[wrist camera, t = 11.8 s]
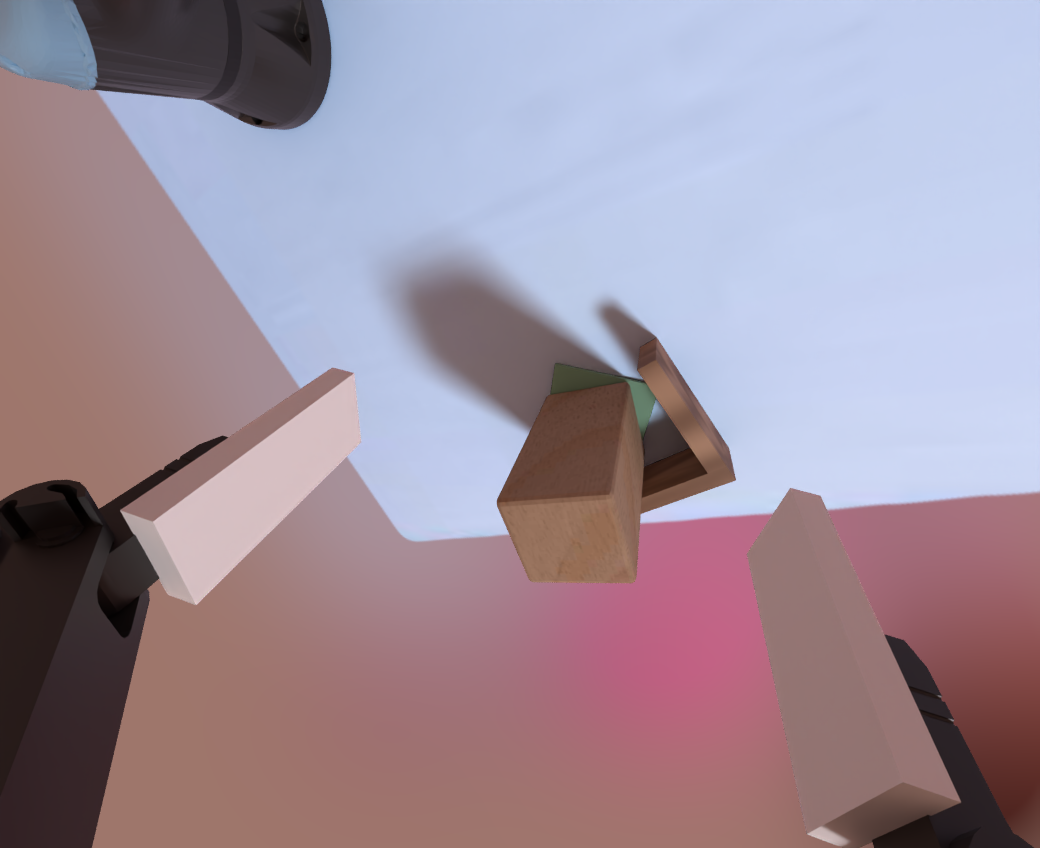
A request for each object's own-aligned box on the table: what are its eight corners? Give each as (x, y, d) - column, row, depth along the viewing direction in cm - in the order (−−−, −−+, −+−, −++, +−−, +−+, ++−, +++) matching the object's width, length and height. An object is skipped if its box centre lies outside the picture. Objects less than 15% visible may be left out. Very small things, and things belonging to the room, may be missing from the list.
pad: (542, 445, 57) (542, 446, 57) (555, 363, 50) (555, 364, 50) (633, 467, 55) (633, 469, 55) (659, 385, 48) (659, 386, 48)
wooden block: (629, 379, 48) (611, 494, 32) (645, 452, 53) (637, 585, 36) (546, 393, 52) (493, 502, 36) (567, 460, 57) (528, 584, 40)
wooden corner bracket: (516, 418, 56) (502, 443, 51) (656, 337, 46) (655, 359, 41) (586, 504, 60) (579, 535, 55) (728, 448, 50) (735, 480, 45)
